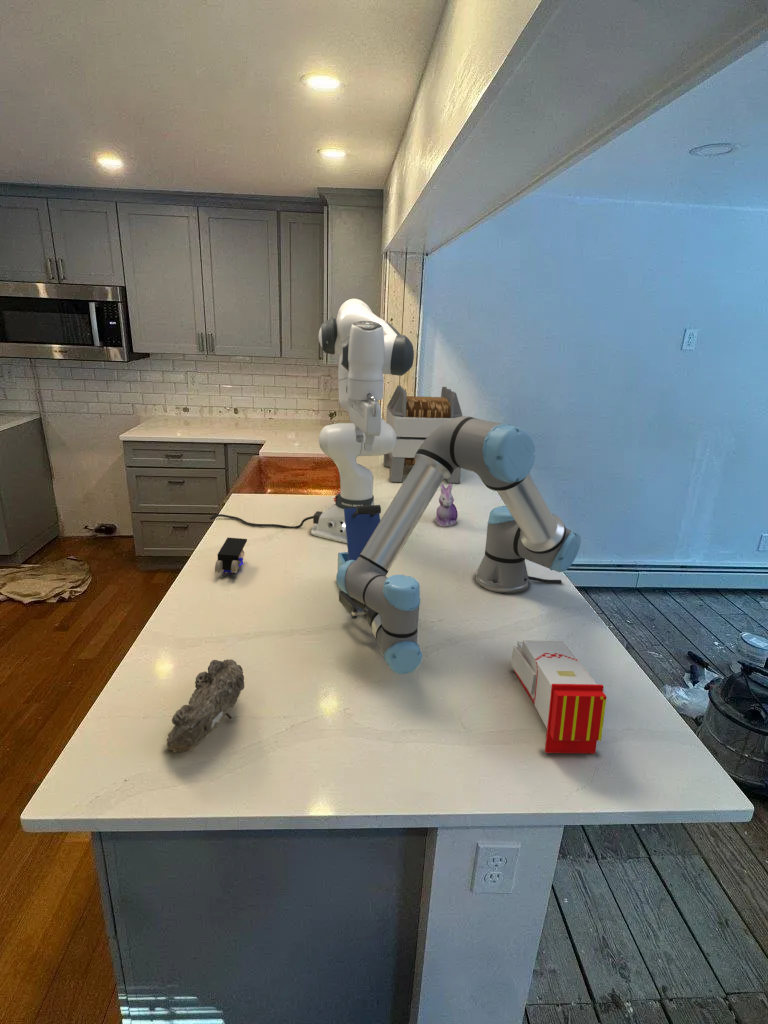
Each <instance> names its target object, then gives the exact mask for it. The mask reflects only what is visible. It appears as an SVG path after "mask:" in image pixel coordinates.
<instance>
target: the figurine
mask: <svg viewBox="0 0 768 1024" xmlns="http://www.w3.org/2000/svg"><path fill="white" fill-rule="evenodd" d="M452 489H453V483H449V484H448V485H447V487H445V485H444V484H443V483H441V484H440V494H439V497H438V503H439V506H438V507H437V508H436V513H435V515H436V517H435V521H434V522H435V523H436V524H437V526H440V527H450V526H454V525H455V524H457V520H458V517H459V516H458V514H459V513H458V510H457V507H456V505H455V504H454V502H455V498H454V495H453V493H452Z"/></svg>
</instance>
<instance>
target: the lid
mask: <svg viewBox="0 0 768 1024" xmlns="http://www.w3.org/2000/svg"><path fill="white" fill-rule="evenodd" d="M381 513H382V507H381V504H374V505H367V506H356V508H345V509H344V517H345V528H346V539H347V543H346V548H347V552H348V560H357V559H358V557H359V555H360V554H361V552H362V550H363V549H364V547H365V545H366V544H367V542H368V540H369V539H370V537H371V535H372V534H373V532H374V530H375V529H376V527H377V525H378V524H379V522H380V521H381V516H380V514H381Z"/></svg>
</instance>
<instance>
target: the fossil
mask: <svg viewBox="0 0 768 1024" xmlns="http://www.w3.org/2000/svg"><path fill="white" fill-rule="evenodd" d="M243 670H244V669H243V667H242V665H240V664H237V662H236V661H235V660H234V659H232V658H231V659H227V658H226V659H224V660H223V661H222V660H217V659H212V660H211V661H210V663H209V665H208V666H207V671H201V672H199V673H198V674H197V675H196V676H195V680H194V684H195V685H194V687H195V689H194V690H193V693H192V694H191V697H190V698H189V700H188V704H184V705H182V706H181V707H180V709H177V710H176V711H175V713H174V715H173V716H172V718H171V723H172V724H173V727H172V730H171V731H170V732H168V734H167V738H166V741H167V742H166V745H167V749H168V750H169V751H173V752H174V753H176V754H178V753H182V752H188V751H189V752H192V751H193V750H195V748H196V747H197V746H199V744H200V743H201V742H203V741H204V740H205V739H206V738H207V737H208V736H209V735H210V734H211V733H212V732H214V730H215V729H217V727H218V726H219V724H220V722H221V721H222V720H223V719H224V718H225V716H226V717H227V719H229V720H233V717H232V715H230V714H229V710H230V709H231V708H234V706H235V704H236V703H237V702H238V699H239V697H240V695H241V693H242V691H243V690H245V689H244V688H245V675H244V671H243Z"/></svg>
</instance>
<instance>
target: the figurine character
mask: <svg viewBox="0 0 768 1024" xmlns="http://www.w3.org/2000/svg"><path fill="white" fill-rule="evenodd" d="M247 542H248V538H240V537H226V539H225V541H224V543H223V544H222V546H221V547H220V549H219V551H218V552H217V560H216V562H215V564H214V572H215V573H221V577H222V578H224V577H225V576H226V574H227V573H230V574H231V573H232V574H231V578H234V577H235V575H236V573H237V572H239V571H240V567H242V566H243V565H244V564H245V562H244V558H245V551H244V547H245V546H246V544H247Z"/></svg>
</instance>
